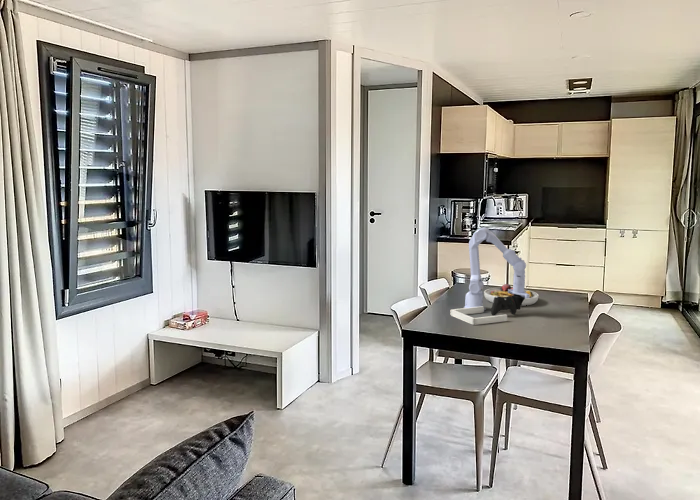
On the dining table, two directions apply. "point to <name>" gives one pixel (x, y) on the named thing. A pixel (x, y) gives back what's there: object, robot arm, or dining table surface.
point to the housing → (475, 321)
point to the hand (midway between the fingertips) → (517, 309)
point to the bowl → (509, 294)
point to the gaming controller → (503, 305)
